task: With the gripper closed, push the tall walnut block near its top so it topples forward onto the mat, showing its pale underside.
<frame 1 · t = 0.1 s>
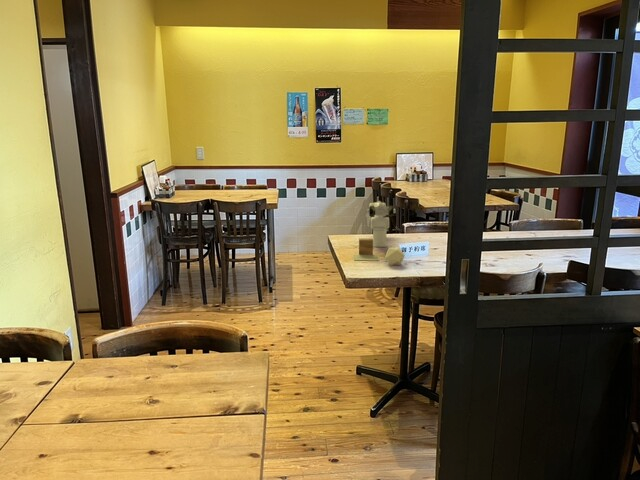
hand: (382, 212, 232), 22 cm above the table, tool horizontal, fingers open, 7 cm apart
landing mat: (366, 258, 231), on the table
walnut block: (365, 254, 238), on the table
die: (394, 264, 221), on the table
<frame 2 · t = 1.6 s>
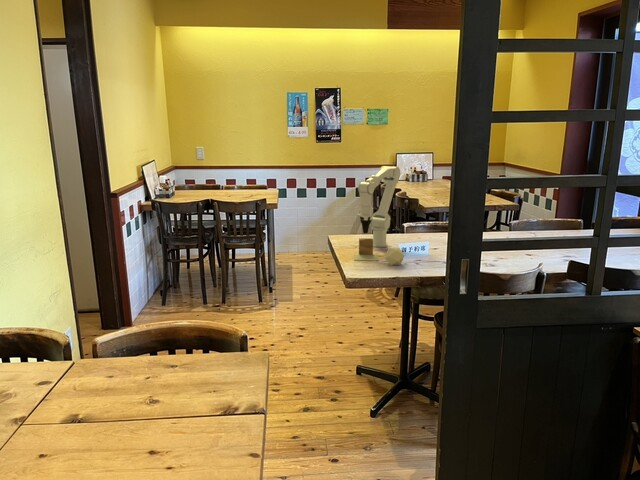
hand: (365, 231, 242), 10 cm above the table, tool pointing down, fingers open, 7 cm apart
nothing on the table moved.
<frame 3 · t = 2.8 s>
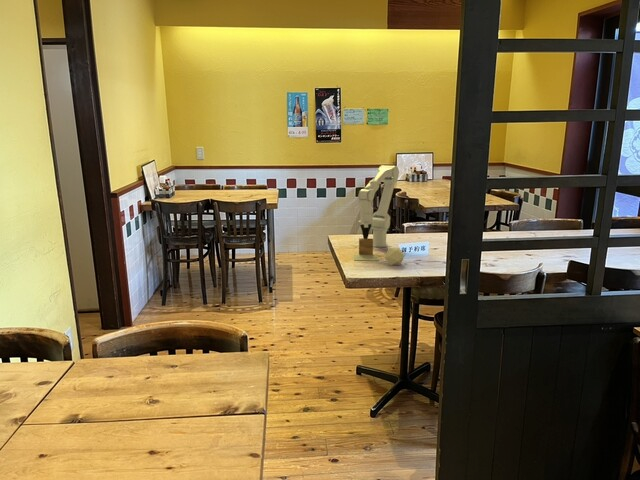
hand: (365, 238, 243), 7 cm above the table, tool pointing down, fingers closed
nothing on the table moved.
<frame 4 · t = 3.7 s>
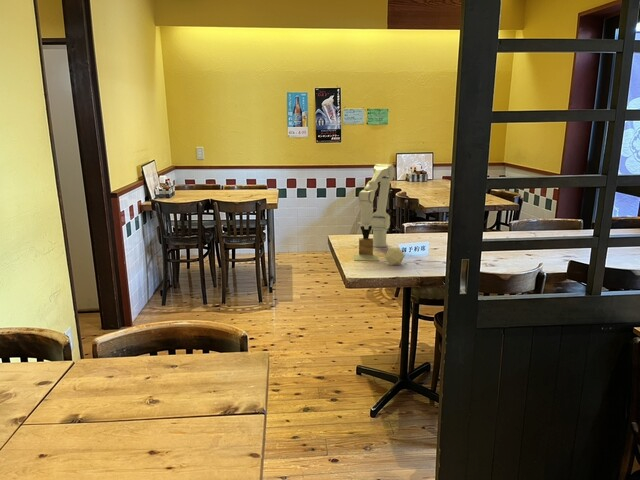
hand: (365, 240, 239), 7 cm above the table, tool pointing down, fingers closed
walnut block: (365, 254, 238), on the table, touching gripper
everything else where it was.
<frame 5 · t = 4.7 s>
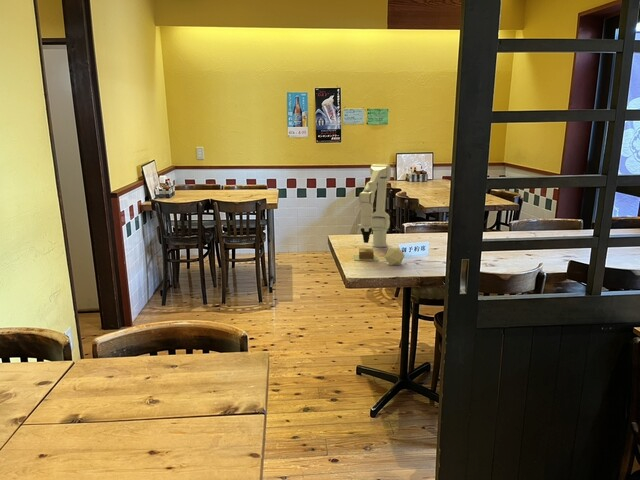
hand: (366, 242, 234), 7 cm above the table, tool pointing down, fingers closed
walnut block: (365, 251, 236), point 2 cm above the table, tilted 90°, touching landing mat
everything else where it was.
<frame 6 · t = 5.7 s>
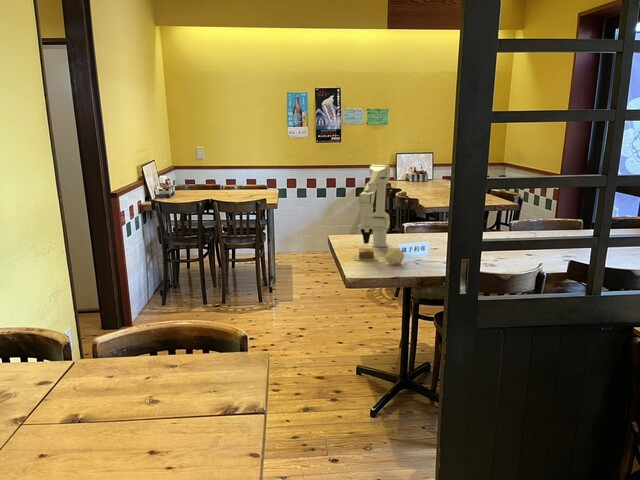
hand: (366, 243, 233), 7 cm above the table, tool pointing down, fingers closed
nothing on the table moved.
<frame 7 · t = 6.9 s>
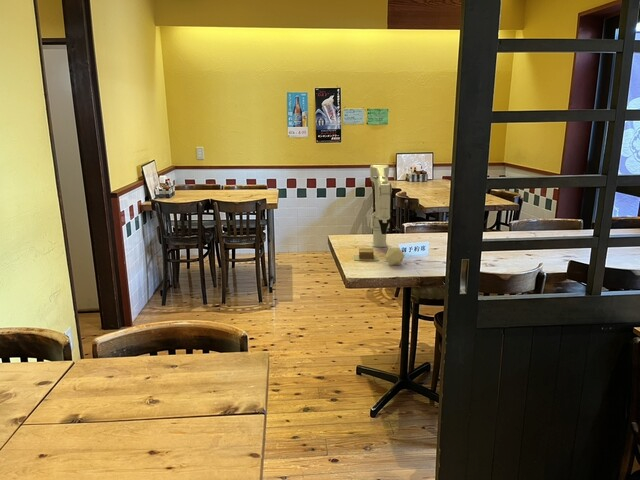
hand: (383, 234, 237), 10 cm above the table, tool pointing down, fingers closed
nothing on the table moved.
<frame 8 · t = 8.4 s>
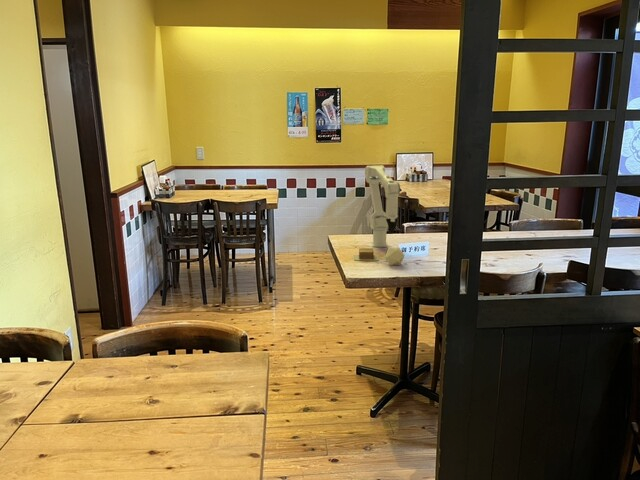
hand: (391, 232, 239), 10 cm above the table, tool pointing down, fingers closed
nothing on the table moved.
at the end: walnut block tilted 90°; walnut block inside the target area (0.9 cm from its centre), point 2.0 cm above the table; walnut block touching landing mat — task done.
